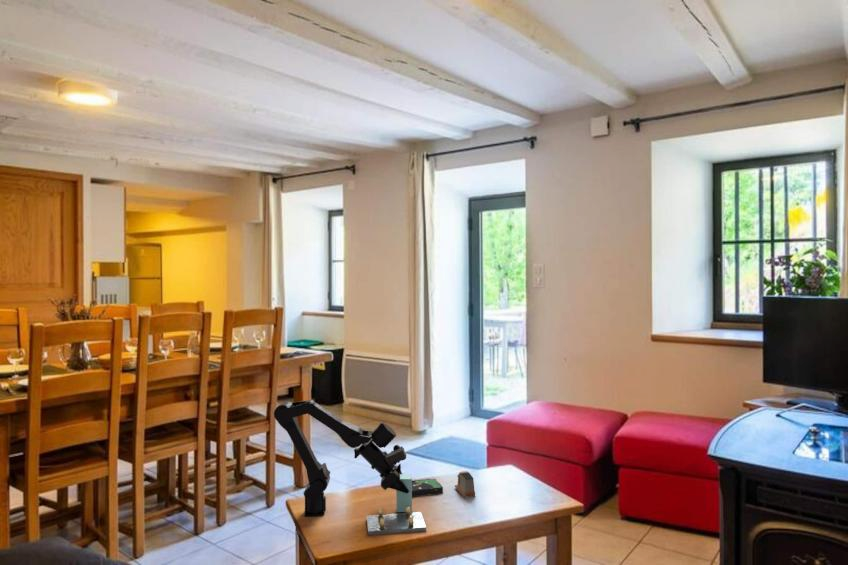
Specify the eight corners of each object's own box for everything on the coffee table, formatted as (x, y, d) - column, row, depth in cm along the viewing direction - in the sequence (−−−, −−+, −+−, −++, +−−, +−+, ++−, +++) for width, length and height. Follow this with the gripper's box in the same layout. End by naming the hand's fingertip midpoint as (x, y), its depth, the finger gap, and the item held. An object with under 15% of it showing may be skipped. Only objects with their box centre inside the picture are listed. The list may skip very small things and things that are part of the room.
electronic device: (465, 487, 217) (464, 467, 217) (475, 496, 208) (475, 475, 208) (454, 488, 215) (454, 468, 215) (464, 498, 206) (464, 477, 206)
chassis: (368, 535, 176) (368, 522, 176) (366, 519, 188) (366, 507, 188) (426, 531, 179) (426, 518, 179) (420, 515, 191) (420, 503, 191)
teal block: (396, 512, 192) (396, 479, 192) (397, 506, 197) (397, 474, 197) (411, 511, 192) (411, 479, 192) (411, 506, 197) (411, 474, 197)
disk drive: (404, 499, 207) (443, 494, 211) (404, 491, 207) (443, 486, 211) (397, 489, 217) (435, 484, 221) (397, 482, 217) (434, 477, 221)
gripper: (390, 448, 185) (425, 482, 185) (393, 432, 204) (424, 463, 204) (366, 472, 185) (401, 506, 185) (371, 455, 204) (402, 486, 204)
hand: (408, 489), depth 195 cm, fingers closed on teal block, 5 cm apart
